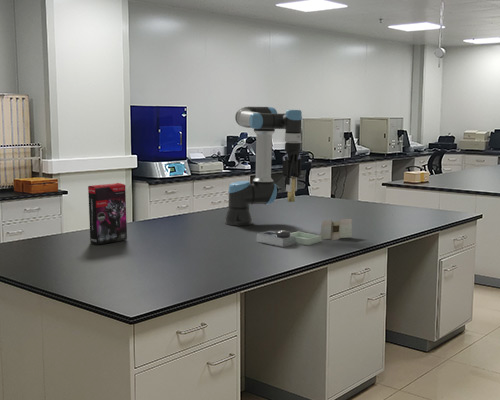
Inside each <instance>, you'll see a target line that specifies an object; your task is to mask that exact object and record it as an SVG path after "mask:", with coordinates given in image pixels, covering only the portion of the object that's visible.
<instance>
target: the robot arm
mask: <svg viewBox="0 0 500 400" xmlns="http://www.w3.org/2000/svg"><path fill="white" fill-rule="evenodd" d="M302 112H303V111H302V110H300V109H287V110H286V111H285V113H279V112H278V111H277V109H276V108H275V107H272V106H244V107H241V108H239V109H238V110H237V112H236V113H235V116H234V118H235V122H236V124H237V125H239V127H242V128H249V129H253V132H254V133H255V134H256V140H255V141H256V142H255V143H256V146H255V147H256V148H255V150H256V151H255V177H254V178H253V180H252V183H251V181H249V180H240V181H234V182H231V183H230V184H229V186H228V209H227V213H226V216H225V218H224V223H225V224H226V225H229V226H243V227H244V226H251V225H252V224H253V218H252V216H251V212H250V205H271V204H273V203H274V202H275V200H276V198H277V194H278V188H277V184H276V183H275V182H274V179H273V178H272V152H273V151H272V147H273V145H272V144H273V143H272V142H273V134H274V133H275V132H276V130H285V133H284V135H285V137H284V142H285V143H284V150H285V151H286V152H285V155H283V156H281V160H282V177H283V178H285V184H286V185H285V191H286V192H288V191H289V192H291V186H292V178H290V177H291V176H294V177H295V192H297V191H298V180H299V179H298V178H300V177H301V175H302V164H303V162H302V161H303V155H300V151H301V148H302V147H301V146H302V145H301V141H302V123H303V122H302V120H303V114H302Z"/></svg>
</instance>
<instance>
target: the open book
mask: <svg viewBox="0 0 500 400" xmlns="http://www.w3.org/2000/svg"><path fill="white" fill-rule="evenodd" d="M352 223H353V219H352V218H343V219H341V218H340V219H339V221H338V220H337V221H333V220H332V219H326V220H322V221H321V229H320V234H319V235H320V236H321V240H328V239H329V240H332V241H335V240H340V239H343V238H344V239H345V238H347V239H348V238H352V237H353V234H352V233H353V224H352Z"/></svg>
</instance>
